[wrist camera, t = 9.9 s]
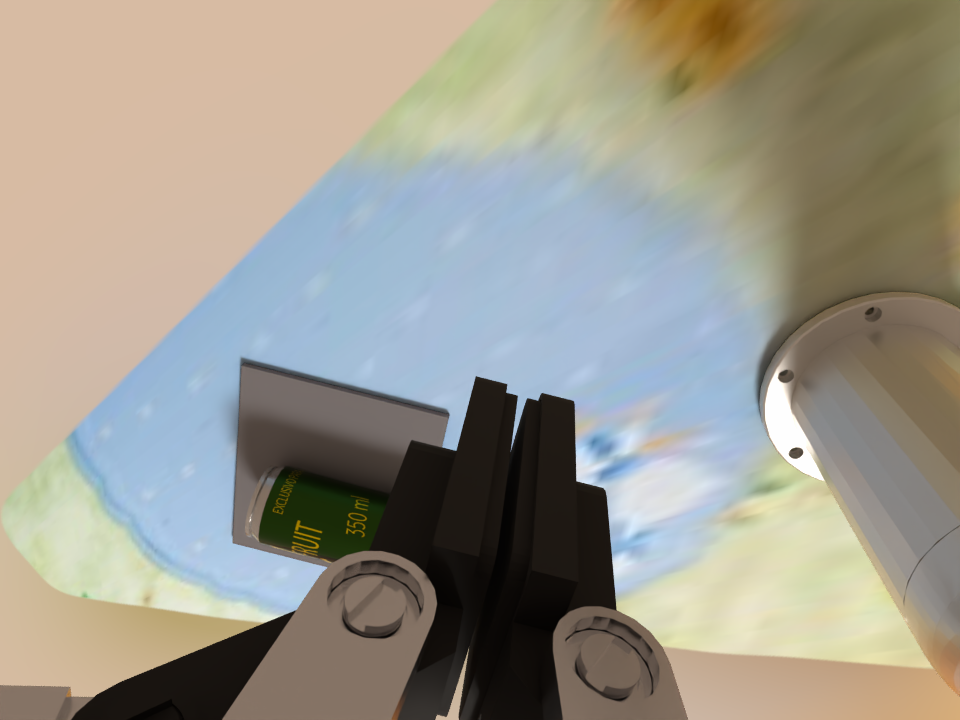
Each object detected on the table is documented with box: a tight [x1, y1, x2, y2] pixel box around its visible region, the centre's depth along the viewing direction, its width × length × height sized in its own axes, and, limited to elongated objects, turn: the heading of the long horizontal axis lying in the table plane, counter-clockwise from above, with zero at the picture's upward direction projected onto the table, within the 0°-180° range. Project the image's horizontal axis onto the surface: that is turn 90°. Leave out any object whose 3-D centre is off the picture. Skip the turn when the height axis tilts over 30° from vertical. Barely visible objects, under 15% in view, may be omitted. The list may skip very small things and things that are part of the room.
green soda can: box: [245, 466, 390, 563], centre depth 44 cm, size 5×5×12 cm
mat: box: [233, 363, 449, 567], centre depth 46 cm, size 14×16×1 cm
